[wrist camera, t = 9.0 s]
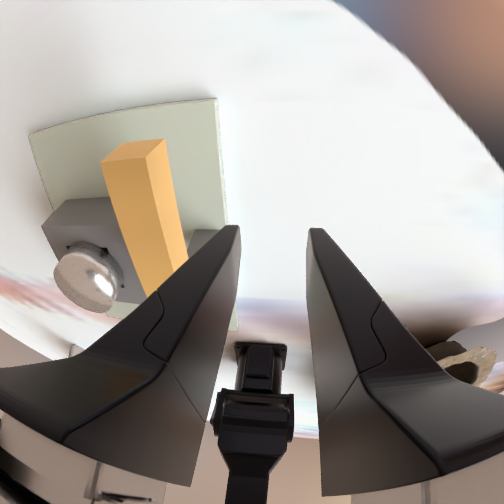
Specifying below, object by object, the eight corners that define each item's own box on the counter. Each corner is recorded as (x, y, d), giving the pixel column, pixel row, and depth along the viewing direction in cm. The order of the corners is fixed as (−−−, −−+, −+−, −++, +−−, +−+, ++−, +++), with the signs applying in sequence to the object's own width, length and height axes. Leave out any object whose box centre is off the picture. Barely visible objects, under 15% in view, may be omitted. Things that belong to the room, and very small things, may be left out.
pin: (147, 261, 26) (121, 316, 21) (100, 258, 26) (71, 307, 21) (131, 211, 22) (95, 266, 17) (81, 213, 23) (43, 261, 18)
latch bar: (209, 323, 19) (203, 349, 17) (172, 319, 19) (164, 344, 18) (171, 137, 11) (152, 156, 9) (117, 143, 11) (93, 163, 9)
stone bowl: (320, 395, 45) (320, 443, 38) (378, 298, 30) (395, 368, 23) (432, 393, 45) (440, 432, 37) (508, 309, 30) (531, 356, 22)
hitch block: (238, 324, 33) (229, 388, 27) (110, 310, 34) (87, 361, 28) (217, 98, 17) (177, 135, 11) (35, 132, 18) (-28, 177, 12)
